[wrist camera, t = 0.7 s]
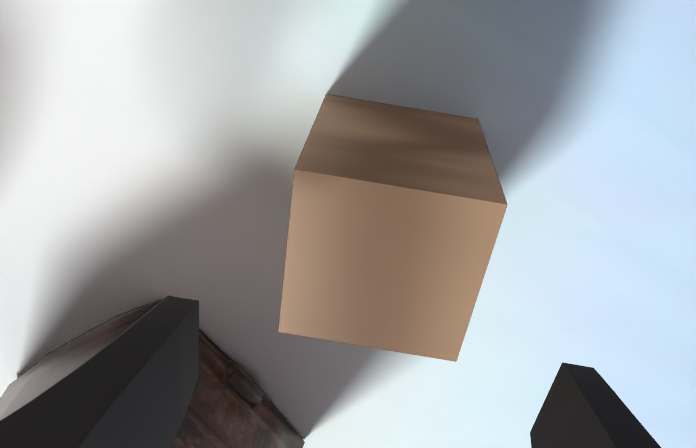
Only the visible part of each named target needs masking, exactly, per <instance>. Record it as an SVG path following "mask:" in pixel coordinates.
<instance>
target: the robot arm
mask: <svg viewBox="0 0 696 448" xmlns="http://www.w3.org/2000/svg"><path fill="white" fill-rule="evenodd" d="M198 376H199V301H196V300H190V299H184V298H178V297H172V296H167V297H166V298H164V299H163V300H162V301H160V302H159V303H158V304H157V305H155V306H154V307H153V308H152V309H151V310H149V311H148V312H147V313H146V314H145V315H143V316H142V317H141V318H140V319H139V320H137V321H136V322H135V323H134V324H133V325H131V326H130V327H129V328H128V329H126V330H125V331H124V332H123V333H122V334H120V335H119V336H118V337H117V338H115V339H114V340H113V341H112V342H110V343H109V344H108V345H106V346H105V347H104V348H103V349H101V350H100V351H99V352H97V353H96V354H95V355H94V356H92V357H91V358H90V359H88V360H87V361H86V362H84V363H83V364H82V365H81V366H79V367H78V368H77V369H75V370H74V371H72V372H71V373H70V374H68V375H67V376H65V377H64V378H63V379H61V380H60V381H58V382H57V383H55V384H54V385H53V386H51V387H50V388H48V389H47V390H46V391H44V392H43V393H41V394H40V395H38V396H37V397H36V398H34V399H33V400H31V401H30V402H28V403H27V404H25V405H24V406H22V407H21V408H19V409H17V410H16V411H14V412H13V413H11V414H10V415H8V416H7V417H5V418H3V419H2V420H0V448H170V447H171V445H172V443H173V441H174V439H175V437H176V435H177V433H178V430H179V428H180V426H181V424H182V422H183V419H184V416H185V413H186V411H187V408H188V405H189V402H190V399H191V397H192V394H193V391H194V388H195V385H196V382H197V379H198ZM530 436H531V446H532V448H661V447H660V446H659V445H658V443H657V442H656V441H655V440H654V439H653V438H652V436H651V435H650V434H649V433H648V432H647V430H646V429H645V428H644V427H643V426H642V424H641V423H640V422H639V421H638V420H637V419H636V417H635V416H634V415H633V414H632V413H631V411H630V410H629V409H628V408H627V407H626V405H625V404H624V403H623V402H622V401H621V399H620V398H619V397H618V396H617V395H616V393H615V392H614V391H613V390H612V389H611V387H610V386H609V385H608V384H607V383H606V382H605V380H604V379H603V378H602V377H601V376H600V375H599V374H598V372H597V371H596V370H595V369H594V368H591V367H585V366H579V365H573V364H568V363H562V364H561V367H560V369H559V371H558V373H557V375H556V377H555V380H554V382H553V384H552V386H551V388H550V390H549V393H548V395H547V397H546V399H545V401H544V403H543V406H542V408H541V410H540V412H539V414H538V417H537V419H536V421H535V423H534V425H533V427H532V430H531V432H530Z"/></svg>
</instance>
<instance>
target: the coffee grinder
mask: <svg viewBox="0 0 696 448" xmlns="http://www.w3.org/2000/svg"><path fill="white" fill-rule="evenodd" d="M160 301H161V300H159V301H157V302H154V303H151V304H149V305H146V306H143V307H140V308H138V309H135V310H132V311H130V312H127V313H124V314H121V315H119V316H117V317H115V318H113V319H111V320H109V321H107V322H105V323H104V324H102V325H100V326H98V327H96V328H94V329H92V330H91V331H89V332H87V333H85V334H83V335H81V336H79V337H78V338H76V339H74V340H72V341H70V342H69V343H67V344H65V345H63V346H61V347H60V348H58V349H56V350H54V351H52V352H51V353H49V354H47V355H46V356H45V357H44V358H42V359H41V360H40V361H39V362H38V363H37V364H35V365H34V366H33V367H32V368H31V369H29V370H28V371H27V372H25V373H24V374H23V375H21V376H20V377H19V378H17V379H16V380H15V381H14V382H12V383H11V384H10V385H9V386H8V387H7V389H6V391H5V392H4V394H3V395H2V396H1V397H0V420H2V419H3V418H5V417H7V416H8V415H10V414H11V413H13V412H14V411H16V410H17V409H19V408H21V407H22V406H24V405H25V404H27V403H28V402H30V401H31V400H33V399H34V398H36V397H37V396H38V395H40V394H41V393H43V392H44V391H46V390H47V389H48V388H50V387H51V386H53V385H54V384H55V383H57V382H58V381H60V380H61V379H63V378H64V377H65V376H67V375H68V374H70V373H71V372H72V371H74V370H75V369H77V368H78V367H79V366H81V365H82V364H83V363H84V362H86V361H87V360H88V359H90V358H91V357H92V356H94V355H95V354H96V353H97V352H99V351H100V350H101V349H103V348H104V347H105V346H106V345H108V344H109V343H110V342H112V341H113V340H114V339H115V338H117V337H118V336H119V335H120V334H122V333H123V332H124V331H125V330H126V329H128V328H129V327H130V326H131V325H133V324H134V323H135V322H136V321H137V320H139V319H140V318H141V317H142V316H143V315H145V314H146V313H147V312H148V311H149V310H151V309H152V308H153V307H154V306H155V305H157V304H158V303H159V302H160ZM303 445H304V441H303V440H302V439H301V437H300V436H299V435H298V434H297V433H296V431H295V430H294V429H293V428H292V427H291V426H290V424H289V423H288V422H287V421H286V420H285V419H284V417H283V416H282V415H281V414H280V413H279V411H278V410H277V409H276V408H275V407H274V405H273V404H272V403H271V402H270V401H269V399H268V398H267V397H266V396H265V394H264V393H263V392H262V391H261V390H260V388H259V387H258V386H257V385H256V383H255V382H254V381H253V380H252V379H251V377H250V376H249V375H248V374H247V373H246V372H245V371H244V370H243V369H242V368H241V367H240V366H239V365H238V364H237V363H236V362H234V361H233V360H231V359H230V358H228V357H227V356H226V355H225V354H224V353H223V352H222V351H221V350H220V349H219V348H218V347H217V346H216V345H215V344H214V343H212V342H211V341H210V340H209V339H208V338H207V337H206V336H205V335H204V334H203V333H202V332H201V331H200V330H199V376H198V379H197V382H196V385H195V388H194V391H193V394H192V397H191V399H190V402H189V405H188V408H187V411H186V413H185V416H184V419H183V422H182V424H181V426H180V428H179V430H178V433H177V435H176V437H175V439H174V441H173V443H172V445H171V447H170V448H303Z"/></svg>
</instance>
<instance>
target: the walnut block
mask: <svg viewBox="0 0 696 448" xmlns="http://www.w3.org/2000/svg"><path fill="white" fill-rule="evenodd" d="M506 208H507V202H506V199H505V196H504V193H503V190H502V187H501V184H500V182H499V179H498V176H497V173H496V170H495V167H494V164H493V161H492V158H491V156H490V153H489V150H488V147H487V144H486V141H485V138H484V135H483V133H482V130H481V127H480V124H479V121H478V119H474V118H468V117H462V116H456V115H449V114H443V113H437V112H431V111H425V110H419V109H413V108H407V107H401V106H395V105H389V104H383V103H377V102H371V101H364V100H358V99H352V98H346V97H340V96H334V95H328V94H326V95H325V98H324V100H323V102H322V105H321V107H320V110H319V112H318V114H317V117H316V119H315V121H314V124H313V126H312V129H311V131H310V133H309V136H308V138H307V140H306V143H305V145H304V148H303V150H302V152H301V155H300V157H299V160H298V162H297V164H296V167H295V169H294V178H293V188H292V198H291V209H290V219H289V229H288V239H287V249H286V260H285V270H284V280H283V290H282V300H281V310H280V321H279V331H278V332H282V333H288V334H294V335H300V336H306V337H312V338H318V339H324V340H330V341H336V342H342V343H348V344H354V345H360V346H366V347H372V348H378V349H384V350H390V351H396V352H402V353H407V354H413V355H419V356H425V357H431V358H437V359H443V360H449V361H455V362H456V361H457V358H458V355H459V352H460V349H461V346H462V343H463V339H464V336H465V333H466V330H467V327H468V324H469V321H470V318H471V315H472V312H473V309H474V306H475V303H476V300H477V297H478V293H479V290H480V287H481V284H482V281H483V278H484V275H485V272H486V269H487V266H488V263H489V260H490V257H491V254H492V250H493V247H494V244H495V241H496V238H497V235H498V232H499V229H500V226H501V223H502V220H503V217H504V214H505V211H506Z"/></svg>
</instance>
